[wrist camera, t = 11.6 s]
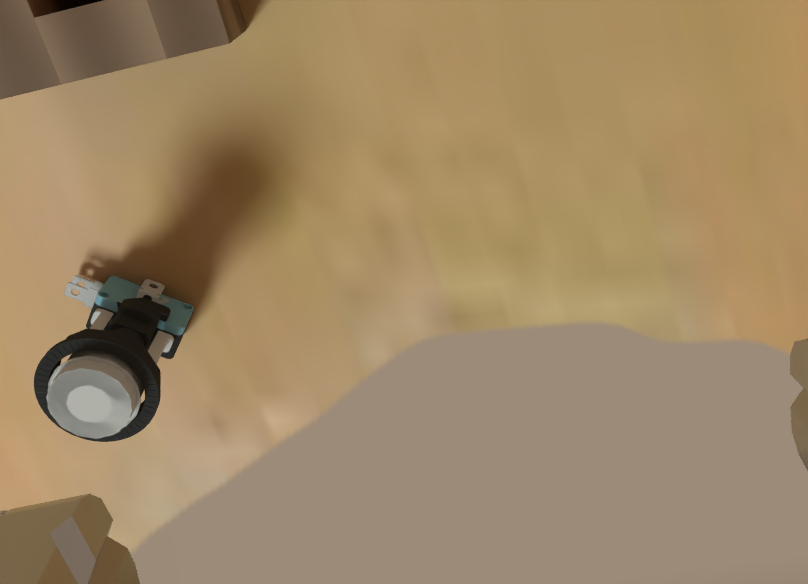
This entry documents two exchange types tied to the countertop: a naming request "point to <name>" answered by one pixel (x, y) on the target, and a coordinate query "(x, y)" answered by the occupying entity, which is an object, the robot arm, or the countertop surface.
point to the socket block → (103, 37)
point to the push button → (111, 359)
